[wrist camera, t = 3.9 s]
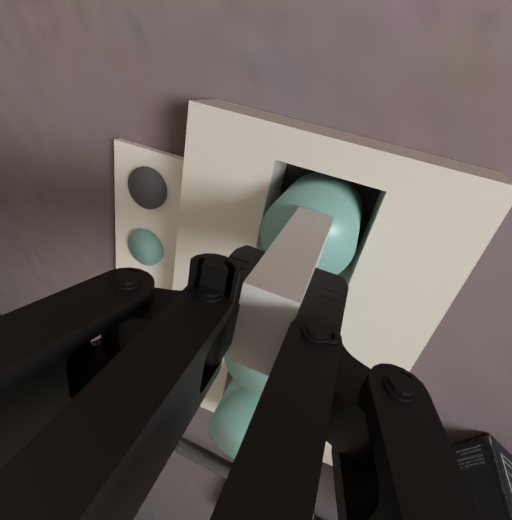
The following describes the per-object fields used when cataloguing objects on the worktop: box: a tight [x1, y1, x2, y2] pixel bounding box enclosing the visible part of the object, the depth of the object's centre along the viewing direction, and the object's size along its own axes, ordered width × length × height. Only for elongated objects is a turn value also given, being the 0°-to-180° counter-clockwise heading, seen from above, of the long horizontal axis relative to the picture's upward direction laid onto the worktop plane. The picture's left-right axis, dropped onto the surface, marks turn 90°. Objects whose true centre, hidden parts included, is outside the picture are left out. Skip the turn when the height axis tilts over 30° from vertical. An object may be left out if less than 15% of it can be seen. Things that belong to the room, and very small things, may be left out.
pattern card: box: [114, 138, 184, 290], centre depth 23 cm, size 5×13×1 cm, turn 169°
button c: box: [261, 172, 362, 275], centre depth 16 cm, size 4×4×4 cm
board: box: [172, 99, 512, 466], centre depth 20 cm, size 14×20×3 cm
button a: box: [208, 378, 260, 459], centre depth 21 cm, size 4×4×4 cm
